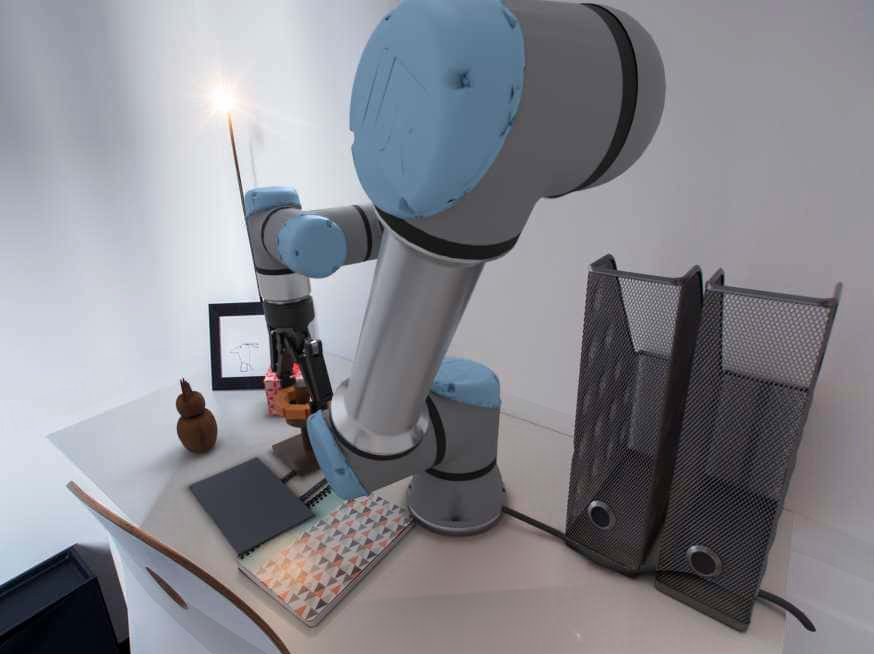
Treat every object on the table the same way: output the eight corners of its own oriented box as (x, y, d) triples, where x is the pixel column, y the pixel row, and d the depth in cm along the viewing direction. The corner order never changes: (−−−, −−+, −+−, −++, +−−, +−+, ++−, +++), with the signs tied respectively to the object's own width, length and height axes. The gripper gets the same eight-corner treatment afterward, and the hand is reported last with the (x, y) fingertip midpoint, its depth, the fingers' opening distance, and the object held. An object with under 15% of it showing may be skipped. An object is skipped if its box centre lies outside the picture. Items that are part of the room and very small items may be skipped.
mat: (315, 516, 80) (314, 514, 80) (239, 555, 73) (239, 553, 73) (257, 458, 93) (256, 456, 93) (189, 487, 87) (188, 485, 87)
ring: (342, 405, 89) (341, 396, 88) (292, 425, 84) (291, 415, 83) (314, 387, 95) (313, 378, 94) (266, 404, 90) (264, 395, 89)
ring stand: (350, 454, 94) (342, 384, 87) (300, 477, 88) (287, 405, 81) (321, 431, 101) (311, 365, 94) (272, 452, 95) (259, 383, 88)
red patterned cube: (277, 396, 113) (270, 363, 109) (314, 394, 113) (309, 361, 110) (270, 415, 106) (263, 381, 102) (309, 413, 107) (304, 378, 103)
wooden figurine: (207, 460, 93) (186, 385, 86) (177, 457, 94) (155, 382, 87) (226, 439, 99) (208, 367, 92) (198, 436, 100) (179, 365, 93)
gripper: (348, 307, 75) (361, 440, 86) (276, 277, 90) (295, 393, 101) (300, 320, 71) (321, 458, 81) (234, 287, 86) (258, 407, 96)
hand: (307, 422), depth 91 cm, fingers closed on ring, 9 cm apart
